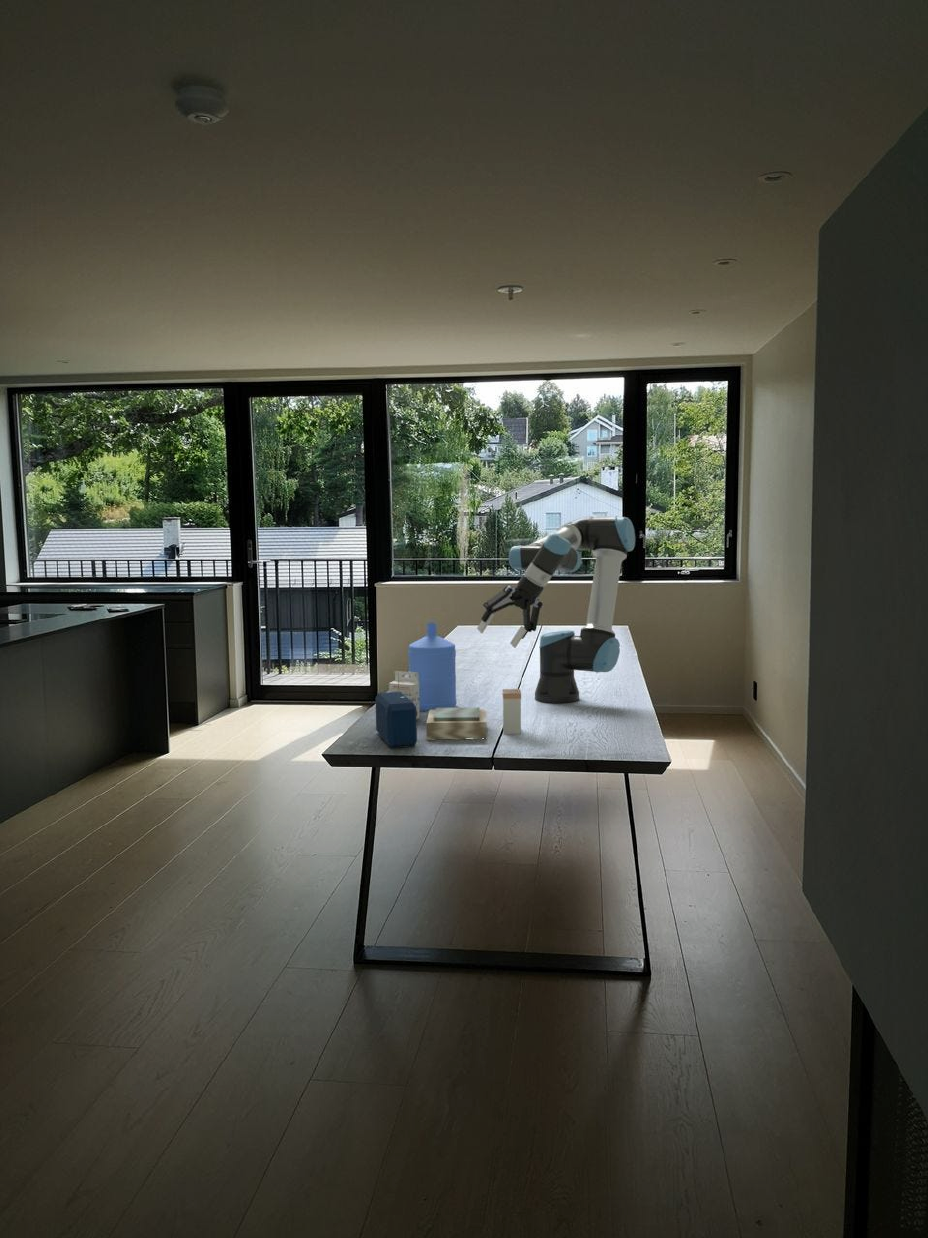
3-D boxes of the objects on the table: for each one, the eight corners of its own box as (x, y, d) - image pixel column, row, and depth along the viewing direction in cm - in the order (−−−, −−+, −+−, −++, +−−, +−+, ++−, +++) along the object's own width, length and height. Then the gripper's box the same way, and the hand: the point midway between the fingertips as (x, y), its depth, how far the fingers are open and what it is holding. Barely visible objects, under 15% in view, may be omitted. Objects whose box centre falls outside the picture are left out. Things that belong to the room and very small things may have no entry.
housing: (520, 728, 273) (520, 689, 272) (521, 733, 267) (521, 693, 266) (502, 729, 274) (502, 689, 272) (503, 734, 267) (503, 693, 266)
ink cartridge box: (388, 720, 287) (387, 673, 285) (395, 716, 292) (394, 670, 290) (414, 721, 284) (413, 674, 283) (420, 718, 289) (419, 672, 287)
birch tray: (486, 725, 278) (486, 706, 277) (486, 739, 261) (486, 718, 260) (430, 725, 278) (429, 706, 278) (426, 739, 261) (426, 719, 261)
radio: (420, 747, 253) (419, 675, 251) (389, 750, 251) (388, 678, 249) (403, 730, 273) (402, 663, 271) (374, 732, 271) (373, 665, 269)
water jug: (446, 713, 295) (445, 627, 291) (401, 710, 300) (399, 625, 297) (463, 704, 309) (462, 621, 306) (420, 701, 315) (418, 619, 311)
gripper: (508, 570, 267) (470, 630, 272) (568, 600, 281) (531, 657, 285) (498, 560, 273) (460, 618, 278) (557, 590, 287) (520, 645, 292)
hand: (496, 638), depth 282 cm, fingers open, 13 cm apart
